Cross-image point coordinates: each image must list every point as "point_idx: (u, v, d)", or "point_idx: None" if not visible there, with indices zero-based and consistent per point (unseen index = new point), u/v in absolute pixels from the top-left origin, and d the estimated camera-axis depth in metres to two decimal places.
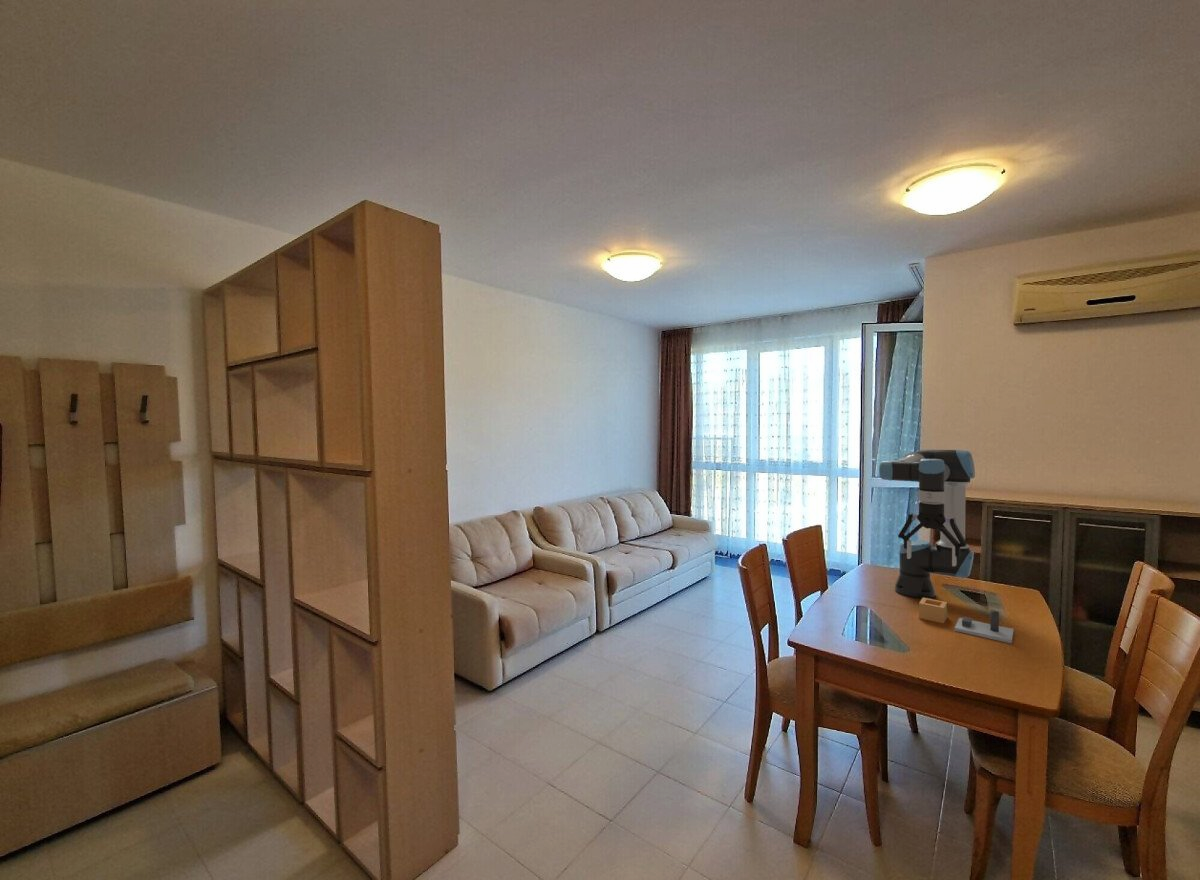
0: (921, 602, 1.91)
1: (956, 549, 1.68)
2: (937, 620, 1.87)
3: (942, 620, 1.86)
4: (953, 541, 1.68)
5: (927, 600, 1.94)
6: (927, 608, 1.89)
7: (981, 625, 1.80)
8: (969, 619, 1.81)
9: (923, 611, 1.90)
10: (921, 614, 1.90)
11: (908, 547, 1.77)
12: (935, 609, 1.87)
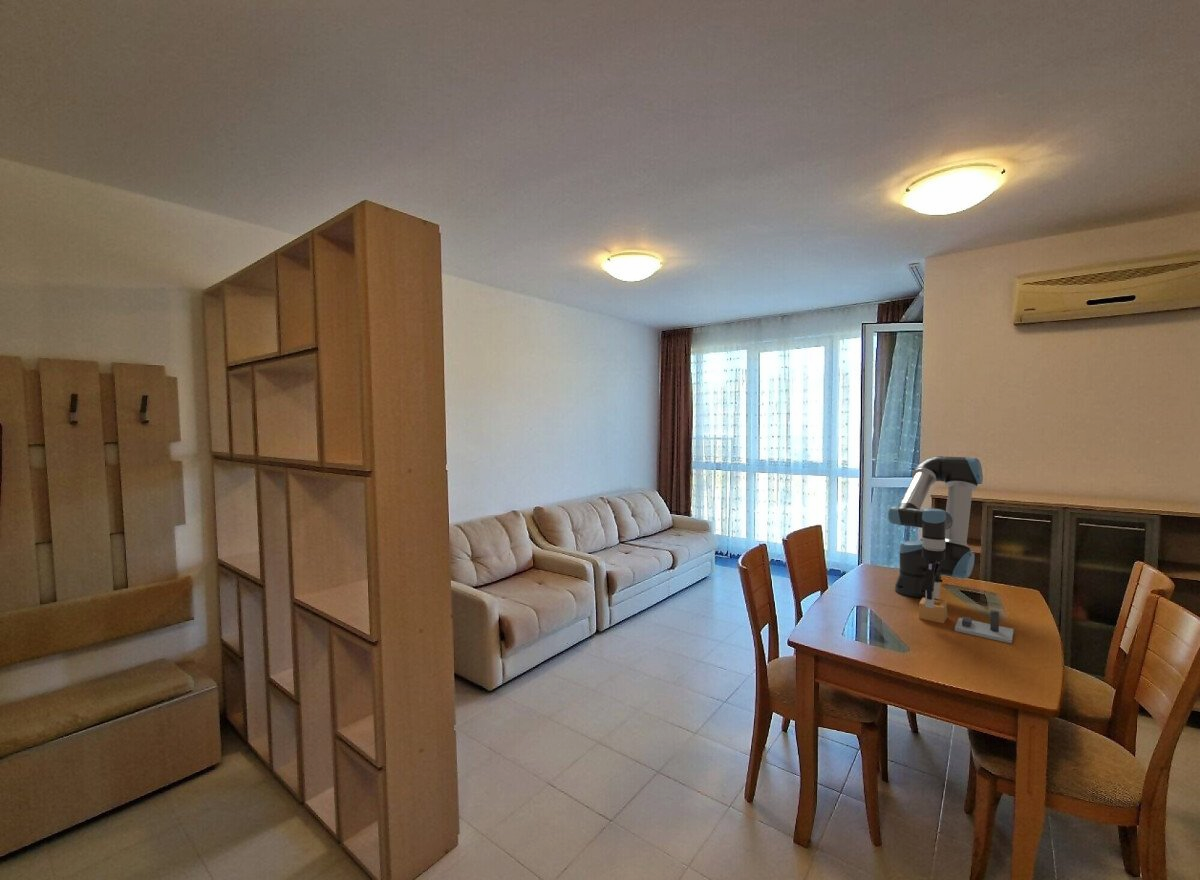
0: (921, 602, 1.91)
1: None
2: (937, 620, 1.87)
3: (942, 620, 1.86)
4: None
5: None
6: (927, 608, 1.89)
7: (981, 625, 1.80)
8: (969, 619, 1.81)
9: (923, 611, 1.90)
10: (921, 614, 1.90)
11: None
12: (935, 609, 1.87)
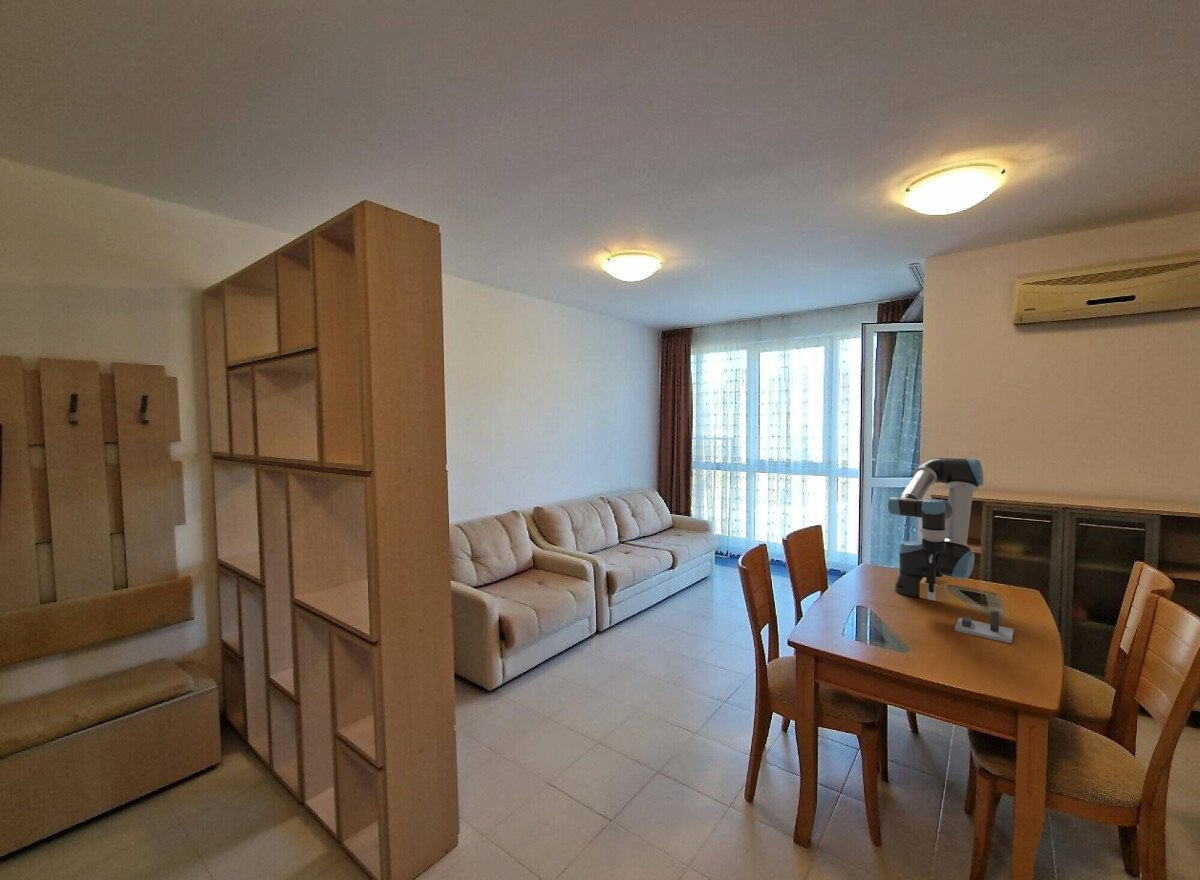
0: (922, 582, 1.91)
1: (929, 585, 1.88)
2: (938, 599, 1.87)
3: (943, 599, 1.86)
4: None
5: None
6: None
7: (981, 625, 1.80)
8: (969, 619, 1.81)
9: (924, 590, 1.90)
10: (922, 594, 1.90)
11: None
12: (936, 588, 1.87)
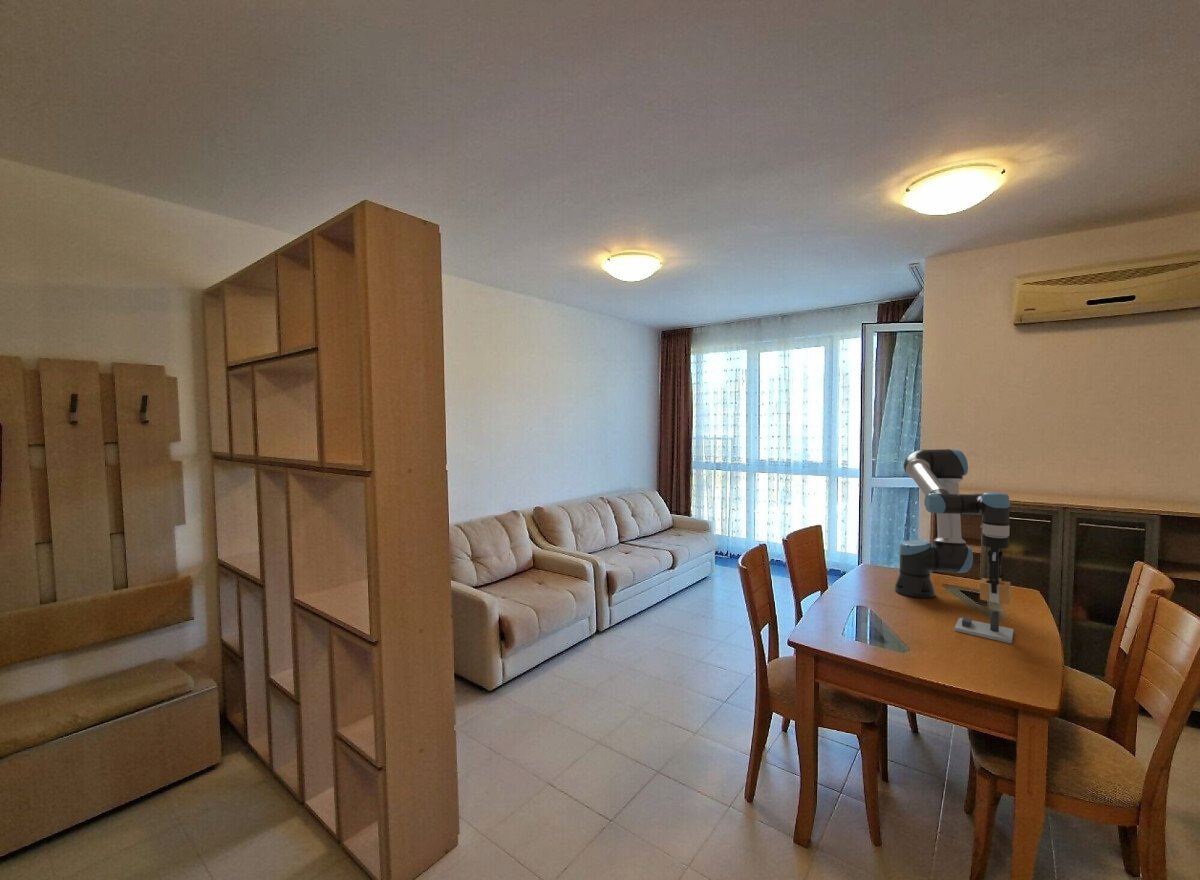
0: (982, 582, 1.75)
1: None
2: (1001, 601, 1.71)
3: (1007, 601, 1.70)
4: None
5: (987, 580, 1.78)
6: None
7: (981, 625, 1.80)
8: (969, 619, 1.81)
9: (985, 591, 1.74)
10: (983, 595, 1.74)
11: None
12: (999, 589, 1.71)
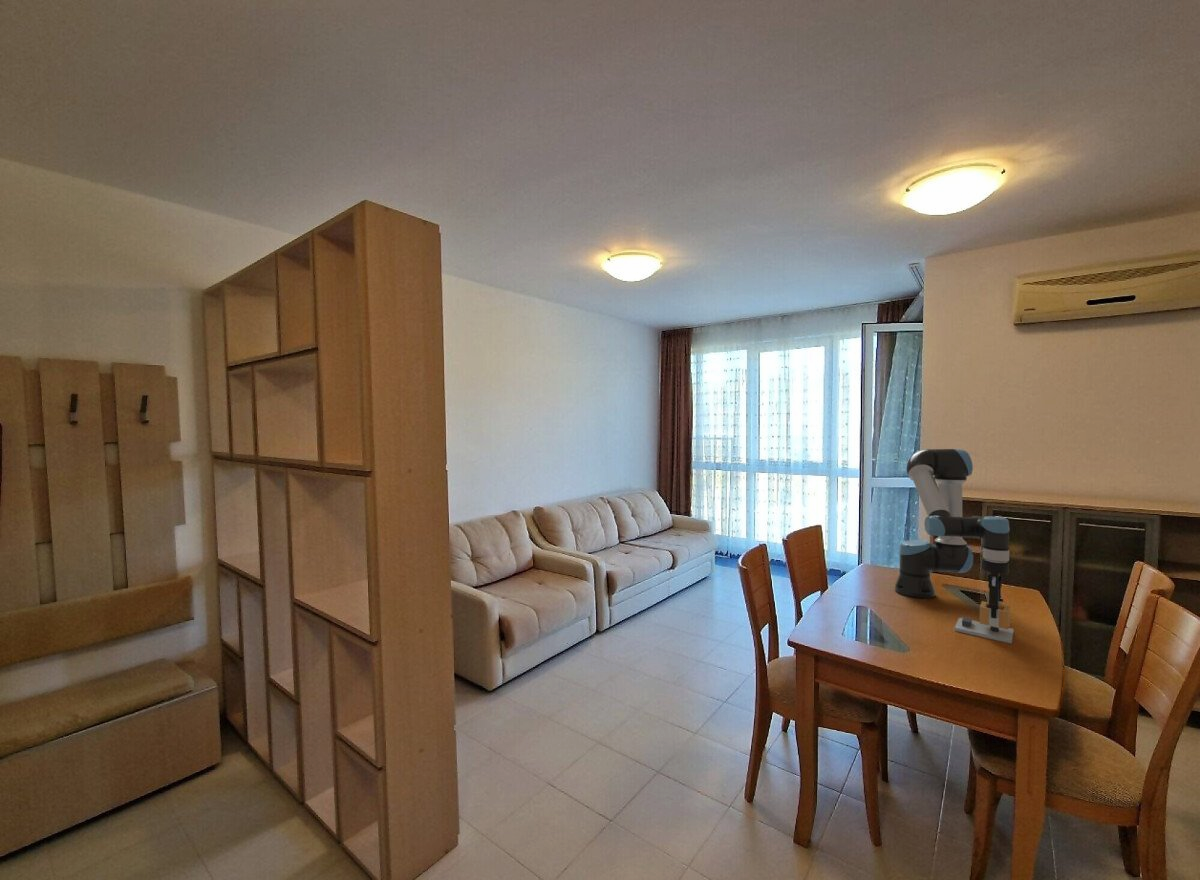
0: (982, 606, 1.76)
1: (991, 610, 1.72)
2: (1001, 626, 1.71)
3: (1007, 626, 1.70)
4: None
5: (987, 604, 1.79)
6: None
7: (981, 625, 1.80)
8: (969, 619, 1.81)
9: (984, 616, 1.74)
10: (982, 620, 1.75)
11: None
12: None
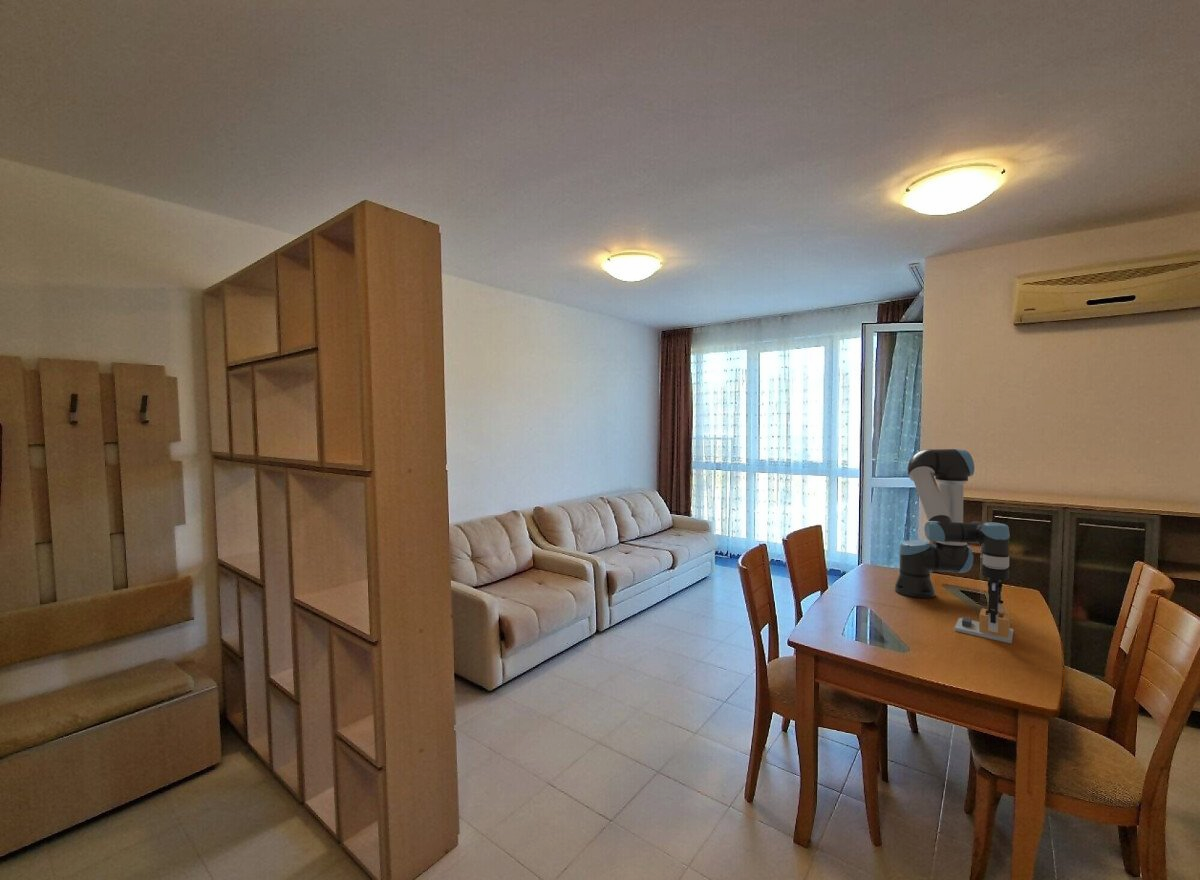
0: (981, 614, 1.76)
1: (990, 615, 1.71)
2: (1000, 633, 1.72)
3: (1006, 634, 1.71)
4: None
5: None
6: None
7: None
8: (969, 619, 1.81)
9: (984, 623, 1.75)
10: (982, 627, 1.75)
11: (991, 608, 1.81)
12: (998, 622, 1.72)
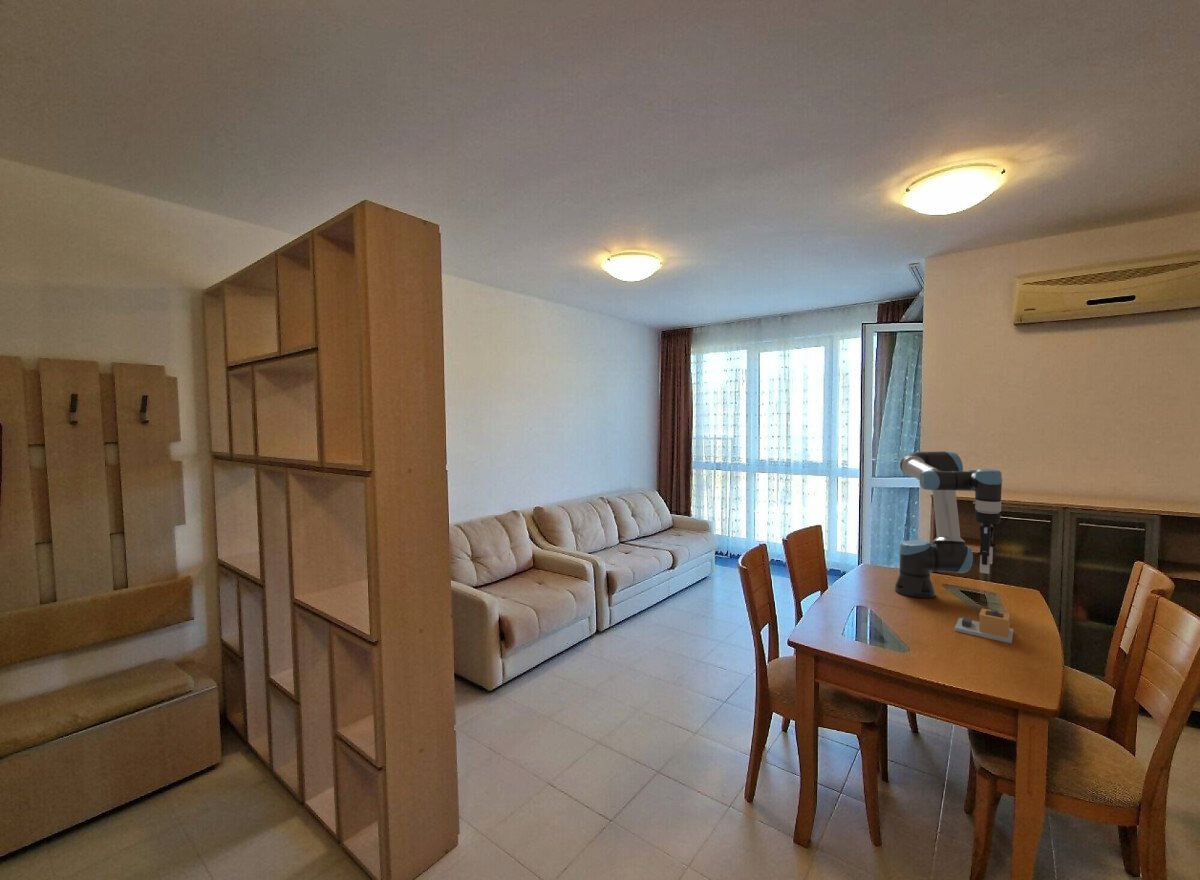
0: (981, 614, 1.76)
1: (982, 557, 1.75)
2: (1000, 633, 1.72)
3: (1006, 634, 1.71)
4: None
5: (987, 611, 1.79)
6: (989, 620, 1.74)
7: None
8: (969, 619, 1.81)
9: (984, 623, 1.75)
10: (982, 627, 1.75)
11: (983, 552, 1.86)
12: (998, 622, 1.72)
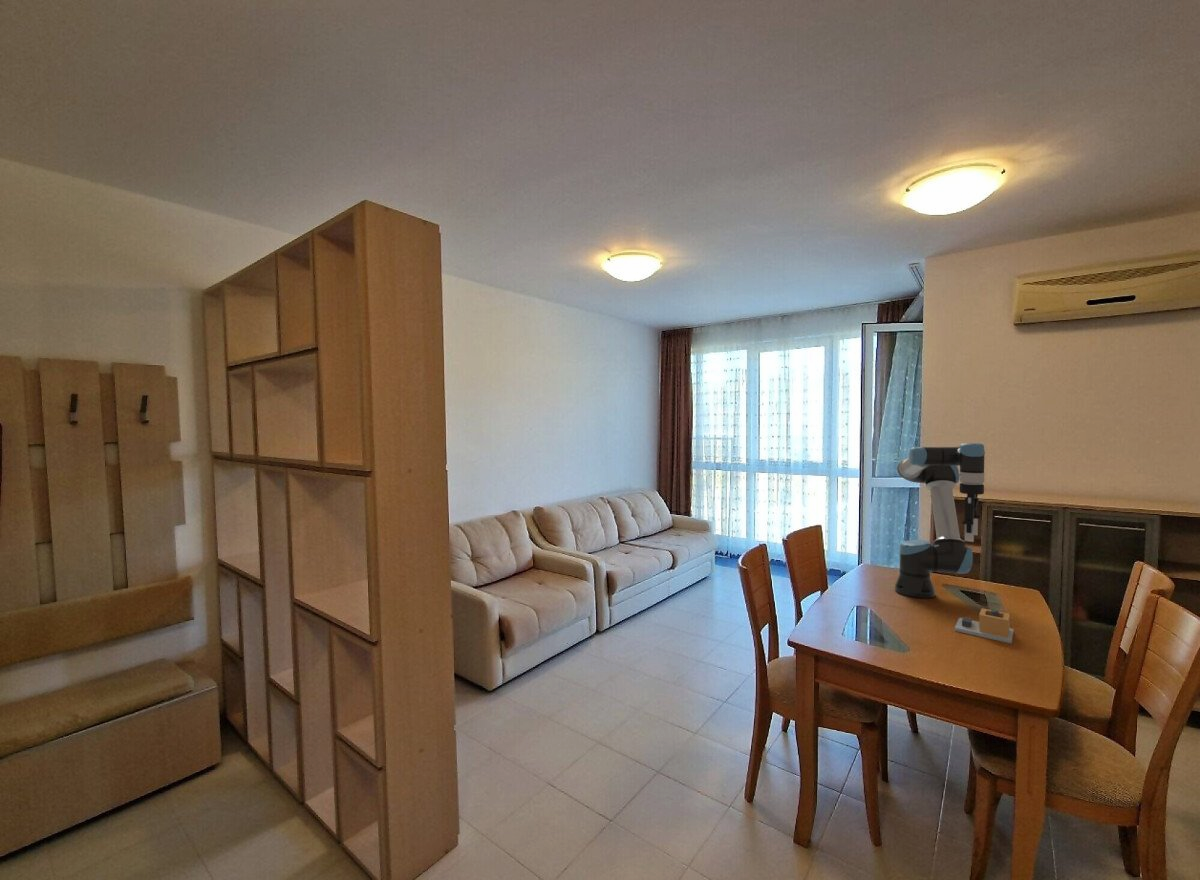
0: (981, 614, 1.76)
1: (966, 525, 1.83)
2: (1000, 633, 1.72)
3: (1006, 634, 1.71)
4: (965, 518, 1.84)
5: (987, 611, 1.79)
6: (989, 620, 1.74)
7: None
8: (969, 619, 1.81)
9: (984, 623, 1.75)
10: (982, 627, 1.75)
11: None
12: (998, 622, 1.72)
